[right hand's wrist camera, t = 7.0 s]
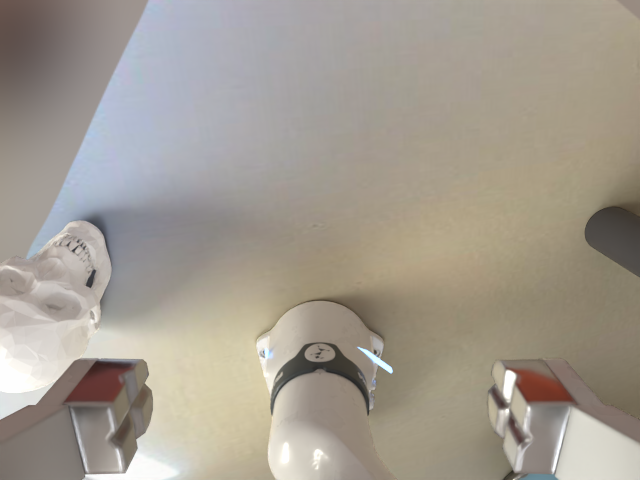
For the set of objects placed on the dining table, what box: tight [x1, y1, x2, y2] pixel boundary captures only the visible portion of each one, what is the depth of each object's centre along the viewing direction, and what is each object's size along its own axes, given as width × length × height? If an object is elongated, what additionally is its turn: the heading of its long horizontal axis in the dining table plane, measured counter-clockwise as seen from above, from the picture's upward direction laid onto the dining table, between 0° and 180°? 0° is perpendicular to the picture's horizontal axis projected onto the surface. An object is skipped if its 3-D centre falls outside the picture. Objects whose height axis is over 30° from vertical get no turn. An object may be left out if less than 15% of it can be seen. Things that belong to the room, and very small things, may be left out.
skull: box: [0, 220, 112, 393], centre depth 55 cm, size 13×22×16 cm, turn 156°
